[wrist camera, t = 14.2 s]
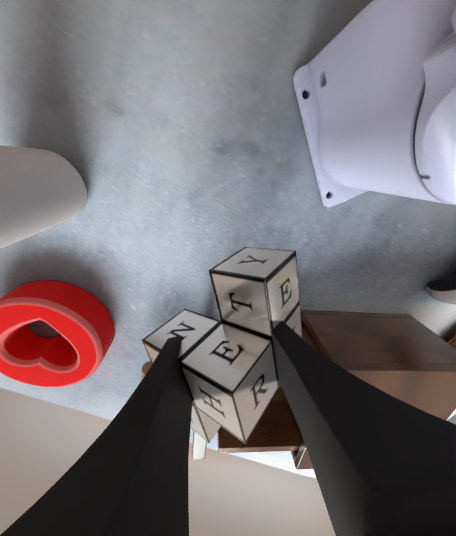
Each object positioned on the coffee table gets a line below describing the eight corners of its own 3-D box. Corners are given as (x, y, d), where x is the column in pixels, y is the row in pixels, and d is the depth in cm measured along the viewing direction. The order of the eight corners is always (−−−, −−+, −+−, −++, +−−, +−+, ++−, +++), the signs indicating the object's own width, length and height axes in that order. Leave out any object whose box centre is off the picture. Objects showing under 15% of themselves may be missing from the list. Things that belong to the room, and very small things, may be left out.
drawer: (153, 401, 26) (140, 461, 21) (149, 314, 21) (130, 363, 16) (288, 401, 28) (307, 455, 23) (315, 320, 23) (346, 366, 18)
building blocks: (255, 482, 9) (213, 325, 6) (174, 414, 13) (119, 290, 9) (305, 382, 13) (295, 250, 10) (231, 349, 16) (206, 244, 13)
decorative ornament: (97, 275, 20) (78, 294, 17) (125, 357, 24) (113, 383, 21) (-18, 285, 19) (-58, 306, 16) (30, 366, 23) (5, 395, 20)
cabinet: (275, 397, 29) (296, 469, 22) (300, 309, 23) (338, 369, 16) (365, 397, 30) (411, 464, 23) (409, 314, 24) (485, 371, 18)
